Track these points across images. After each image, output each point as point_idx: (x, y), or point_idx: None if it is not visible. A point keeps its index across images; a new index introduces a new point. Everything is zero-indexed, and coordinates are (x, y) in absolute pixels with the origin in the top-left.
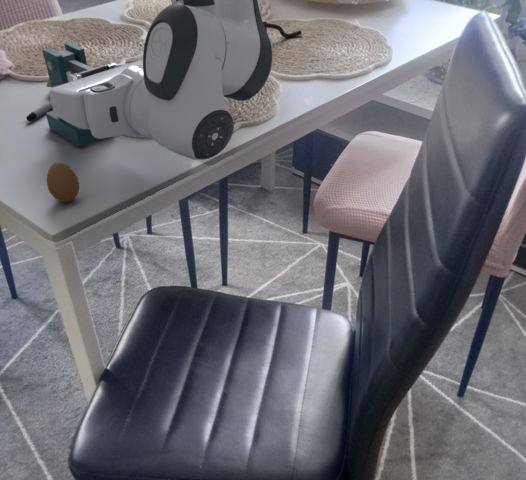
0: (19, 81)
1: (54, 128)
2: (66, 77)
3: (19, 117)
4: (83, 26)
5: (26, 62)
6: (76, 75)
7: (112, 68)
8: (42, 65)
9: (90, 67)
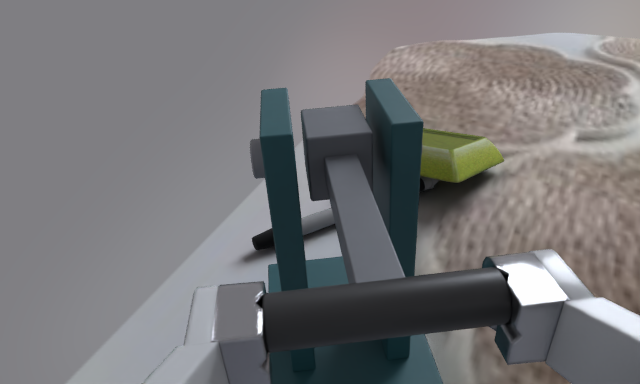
0: None
1: None
2: (297, 226)
3: (254, 224)
4: (513, 55)
5: None
6: (227, 325)
7: (546, 319)
8: None
9: (388, 257)
